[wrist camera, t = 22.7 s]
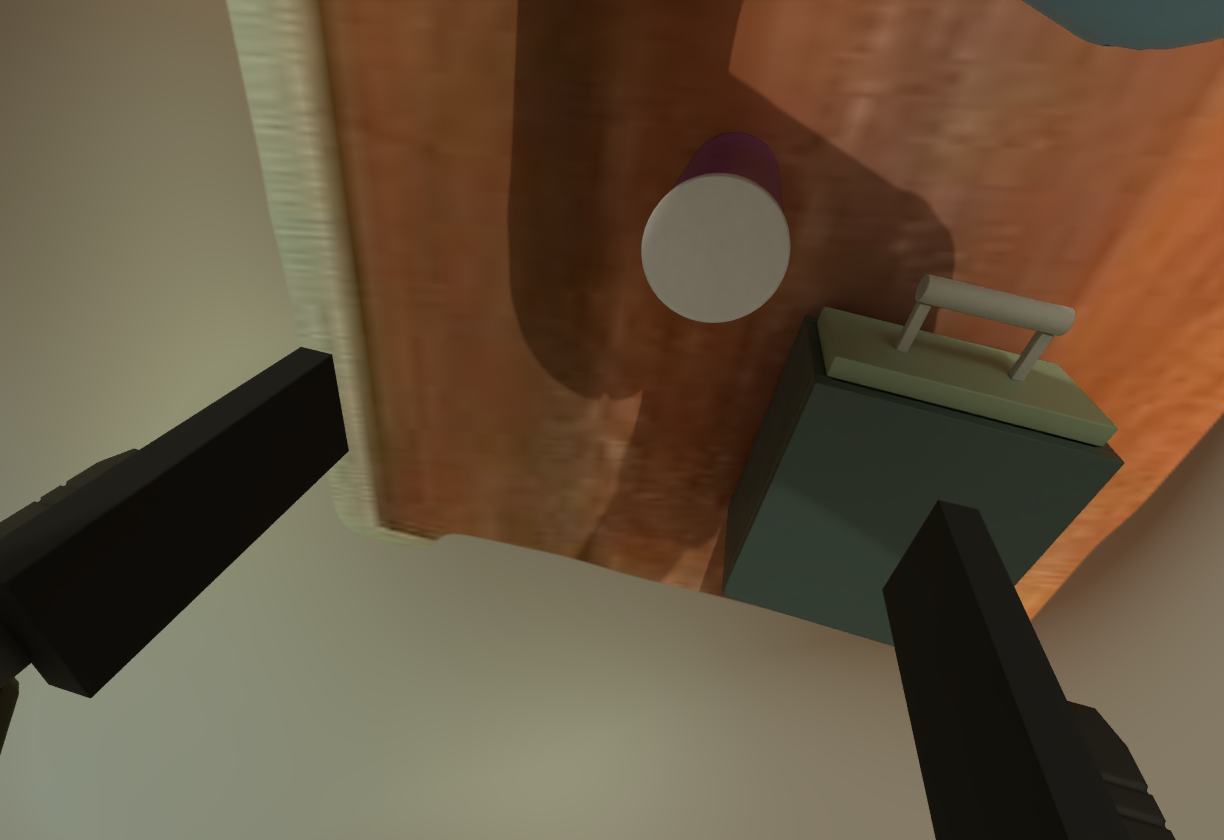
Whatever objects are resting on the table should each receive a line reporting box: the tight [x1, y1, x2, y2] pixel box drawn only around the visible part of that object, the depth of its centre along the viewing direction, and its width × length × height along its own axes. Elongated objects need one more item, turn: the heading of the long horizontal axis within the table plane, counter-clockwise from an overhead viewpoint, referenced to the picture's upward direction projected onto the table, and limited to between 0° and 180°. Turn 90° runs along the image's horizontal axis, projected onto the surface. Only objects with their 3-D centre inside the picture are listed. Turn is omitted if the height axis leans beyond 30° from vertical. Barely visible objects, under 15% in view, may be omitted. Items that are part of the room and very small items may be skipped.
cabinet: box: [722, 316, 1124, 646], centre depth 36 cm, size 17×15×9 cm
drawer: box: [817, 274, 1118, 447], centre depth 34 cm, size 20×14×7 cm
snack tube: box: [641, 133, 790, 323], centre depth 26 cm, size 5×5×14 cm
